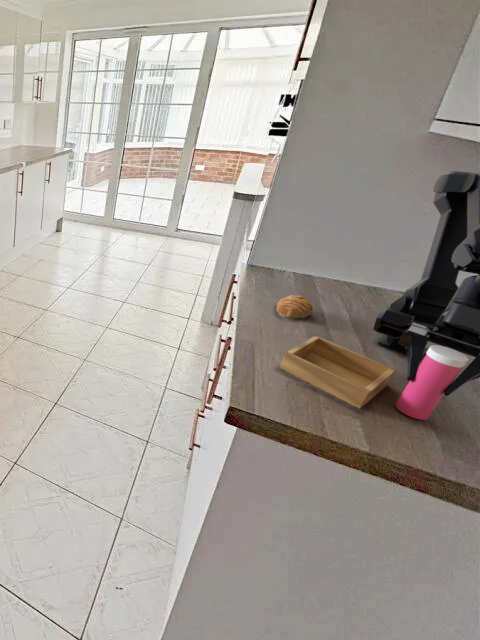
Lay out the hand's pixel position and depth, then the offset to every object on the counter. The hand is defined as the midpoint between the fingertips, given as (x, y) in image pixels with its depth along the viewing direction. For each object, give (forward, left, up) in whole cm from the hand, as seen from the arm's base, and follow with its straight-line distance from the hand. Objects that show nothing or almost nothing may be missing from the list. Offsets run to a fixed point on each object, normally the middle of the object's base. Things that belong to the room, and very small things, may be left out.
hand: (426, 387), depth 66 cm
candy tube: (-1, 0, -6) cm, 6 cm away
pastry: (-23, -27, -7) cm, 36 cm away
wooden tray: (-1, -11, -7) cm, 13 cm away
